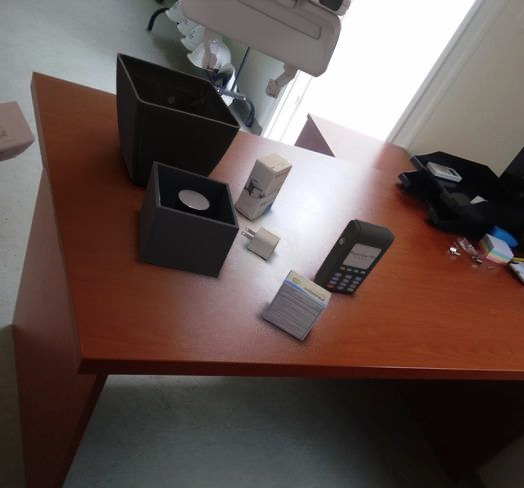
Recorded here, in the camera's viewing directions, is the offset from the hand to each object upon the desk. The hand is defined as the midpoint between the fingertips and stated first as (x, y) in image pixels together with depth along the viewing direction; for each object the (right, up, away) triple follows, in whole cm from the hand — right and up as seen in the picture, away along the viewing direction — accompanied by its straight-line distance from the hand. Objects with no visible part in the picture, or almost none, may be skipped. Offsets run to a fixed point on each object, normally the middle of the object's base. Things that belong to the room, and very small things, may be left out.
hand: (239, 82), depth 62 cm
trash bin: (-12, -18, +18) cm, 28 cm away
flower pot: (-19, 0, +31) cm, 36 cm away
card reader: (+17, -24, +30) cm, 42 cm away
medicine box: (+7, -32, +17) cm, 37 cm away
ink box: (+1, -6, +38) cm, 38 cm away
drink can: (-12, -18, +18) cm, 28 cm away
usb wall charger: (+1, -16, +28) cm, 32 cm away
